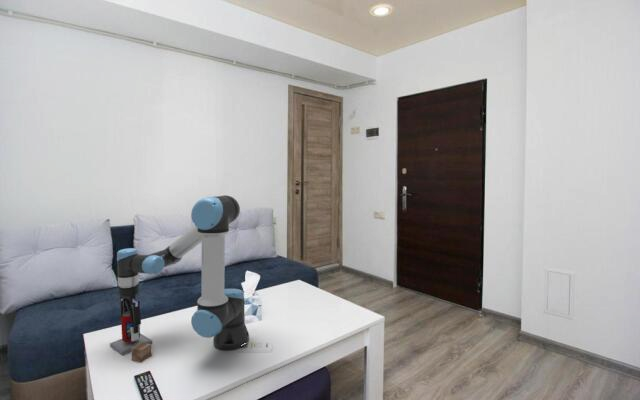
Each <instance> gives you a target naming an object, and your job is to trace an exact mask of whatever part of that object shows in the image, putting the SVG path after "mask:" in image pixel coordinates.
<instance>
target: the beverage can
mask: <svg viewBox="0 0 640 400" xmlns="http://www.w3.org/2000/svg"><path fill="white" fill-rule="evenodd" d="M120 320H121V321H120V324H121V326H120V327H121V328H120V329H121V339H122V341H124V342H126V343H130V342H134V341H131V327H130V326H131V325H132V323H131V318H130V313H129V311H127V312H124V313H123V314H122V317H121V318H120ZM140 325H141V324H140ZM140 325H138V328H139V337H140V333H141V327H140ZM135 341H136V340H135Z"/></svg>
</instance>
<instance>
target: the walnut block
mask: <svg viewBox="0 0 640 400" xmlns="http://www.w3.org/2000/svg"><path fill="white" fill-rule="evenodd" d="M152 351H153V350H152V344H148V343H143V342H141V343H139V344H138V345H136V346H134V347H133V348H131V352H130V353H131V354H130V355H131V361H134V362H138V363H143V362H145V361H146V360H147V359H149V358H150V357H152V356H153V355H152V353H153V352H152Z"/></svg>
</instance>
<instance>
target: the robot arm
mask: <svg viewBox="0 0 640 400" xmlns="http://www.w3.org/2000/svg"><path fill="white" fill-rule="evenodd" d="M191 208H192V209H191V214H190V215H191V220H192V221H191V222H192V223H193V224H194V226H192V227H191V228H190V229H189V230H187V231H186V232H185V233H183V234H182V235H181V236H180V237H179V238H177V239H176V240H174V241H173V242H172V243H171V244H170V245H168V246H167V247H166V248H164V249H162V250H159V251H155V252H153V253H150V254H139V252H138V249H137V248H133V247H130V248H129V247H128V248H123V249H120V250H118V251H117V253H116V265H117V286H118V296H119V317H120V319H121V317H122V315H123V313H124V312H127V311H129V313H130V318H131V323H132V325H131V326H130V327H131V341H135V340H138V339H139V328H138V325H142V319H141V310H140V309H141V308H140V304H141V302H140V301H139V300H137V298H136V296H137V295H138V294H139V293H140V285H139V277H140V275H139V274H147V275H157V274H160V273H161V272H162V271H163V270H164V268H166V267H169V266H172V265H175V264H178V263H180V262H181V260H182V259H183V257H184V256H185V255H186V254H188V253H190V251H192V250H193V249H195V248H196V247H197V246H199V245H200V244H201V296H200V297H198V299H197V301H196V302H197V308H196V309H197V310H195V312H193V315H191V320H190V321H191V327H192V329H193V330H194V332H196V334H197V335H199V336H200V337H202V338H207V339H208V338H209V339H210V338H213V339H212V340H213V341H212V343H213V347H214V348H216V349H218V350H219V351H220V350H222V351H233V350H237V349H240V347H241V345H242V344H244V343H247V342H248V343H249V341H250V335H249V330H248V327H247V325H246V321H245V319H246V318H245V317H246V315H245V293H244V291H243V290H242V289H238V288H225V274H226V273H225V271H226V270H225V265H226V262H225V261H226V257H225V256H226V255H225V251H226V250H225V249H226V247H225V246H226V235H227V234H228V233H230V224H233V222H235V221H236V220H238V217H239V216H240V213H241V207H240V205H239V202H238V201H237V199H235V197H233V196H230V195H225V194H224V195H218V196H215V195H214V196H207V197H203V198H201V199H199V200H198V201H197V202H196V203H195V204H193V207H191ZM248 343H247V344H248ZM241 348H242V347H241Z"/></svg>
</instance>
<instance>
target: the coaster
mask: <svg viewBox="0 0 640 400" xmlns="http://www.w3.org/2000/svg"><path fill="white" fill-rule="evenodd" d="M141 342H143V343H148V344H151V345H153V340H152V339H151V338H149V337H148V336H146V335H144V334H142V333H141V332H140V337H139V339H138V340H136V341H134V342H130V343H126V342H124V341H122V338H121V339H118V340H115V341H112V342H110V343H109V345H110V346H109V347H110V348H111V349H113V350H115V352H116V353H118V354H119V355H121V356H125V355H128V354H130V353H131V348H133V347H134V346H136V345H138V344H139V343H141Z"/></svg>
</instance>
